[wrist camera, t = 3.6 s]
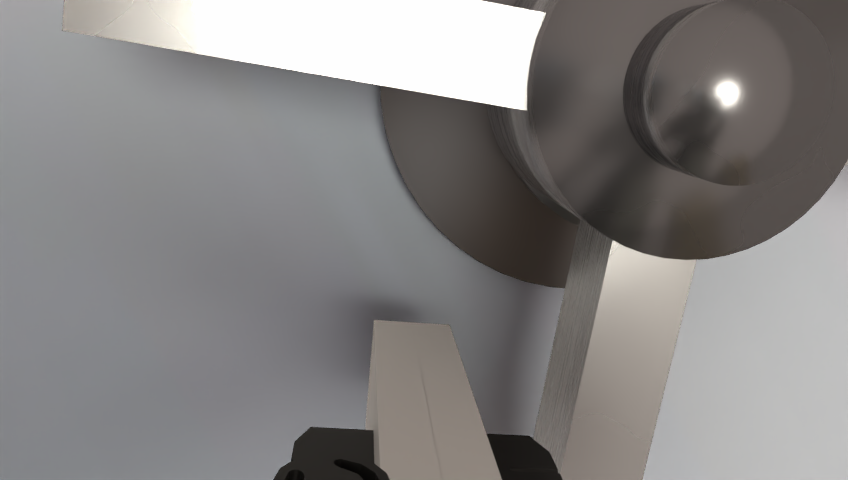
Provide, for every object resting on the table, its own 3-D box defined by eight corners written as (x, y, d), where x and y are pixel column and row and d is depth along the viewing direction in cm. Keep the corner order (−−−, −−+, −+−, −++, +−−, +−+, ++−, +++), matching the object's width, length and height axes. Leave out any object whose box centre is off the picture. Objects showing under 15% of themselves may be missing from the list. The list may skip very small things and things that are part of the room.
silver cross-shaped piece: (112, 440, 17) (-27, 649, 11) (205, -537, 13) (74, -1055, 7) (871, 526, 19) (1113, 742, 13) (1132, -297, 15) (1642, -539, 9)
